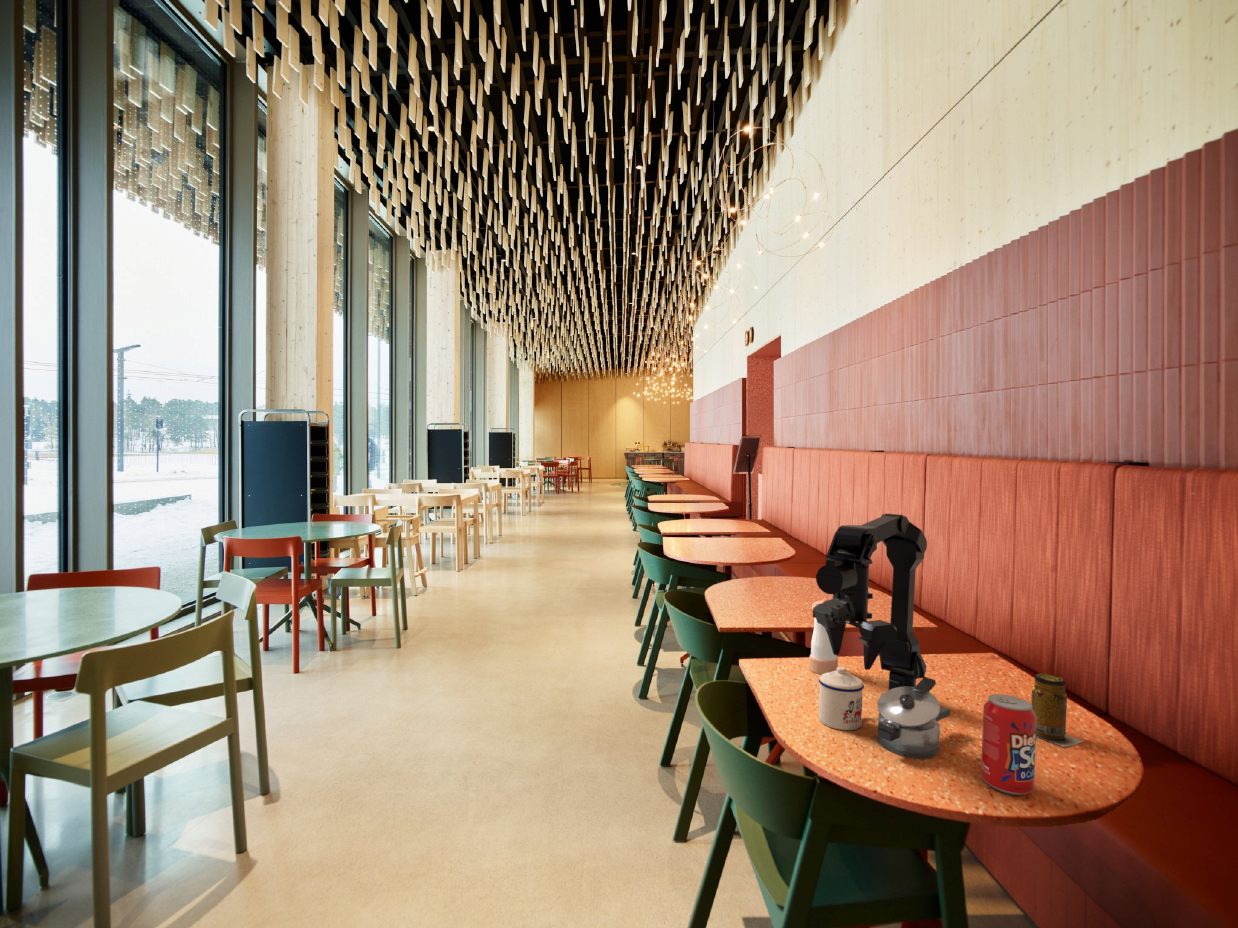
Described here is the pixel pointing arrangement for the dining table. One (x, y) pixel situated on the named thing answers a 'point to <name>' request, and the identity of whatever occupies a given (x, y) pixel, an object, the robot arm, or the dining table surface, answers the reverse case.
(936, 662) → the dining table surface
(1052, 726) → the condiment
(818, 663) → the pepper shaker
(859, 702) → the teacup with lid
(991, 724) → the soda can
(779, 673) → the dining table surface
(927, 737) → the pot
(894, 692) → the lid
